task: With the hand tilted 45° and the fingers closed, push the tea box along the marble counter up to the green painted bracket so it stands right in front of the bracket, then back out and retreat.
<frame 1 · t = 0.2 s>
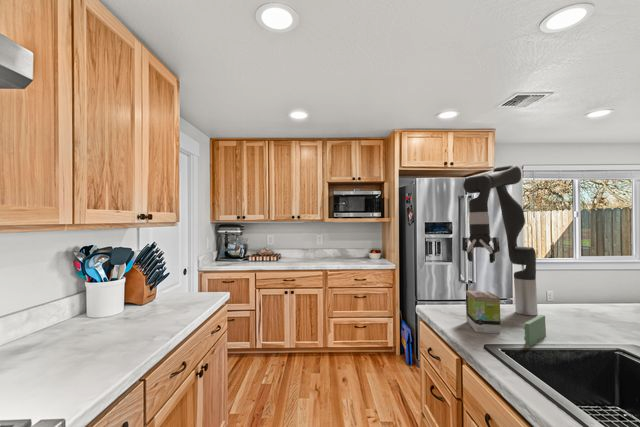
hand: (480, 262, 128), 29 cm above the counter, tool pointing down, fingers open, 8 cm apart
bracket: (536, 340, 117), on the counter
tea box: (482, 328, 133), on the counter
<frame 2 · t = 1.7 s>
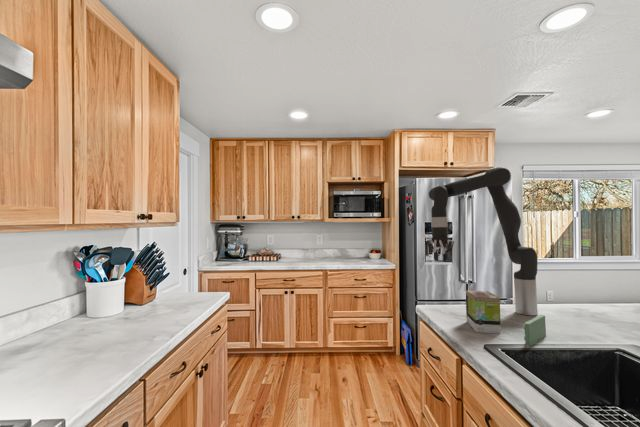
hand: (440, 260, 152), 27 cm above the counter, tool pointing down, fingers open, 4 cm apart
nothing on the counter moved.
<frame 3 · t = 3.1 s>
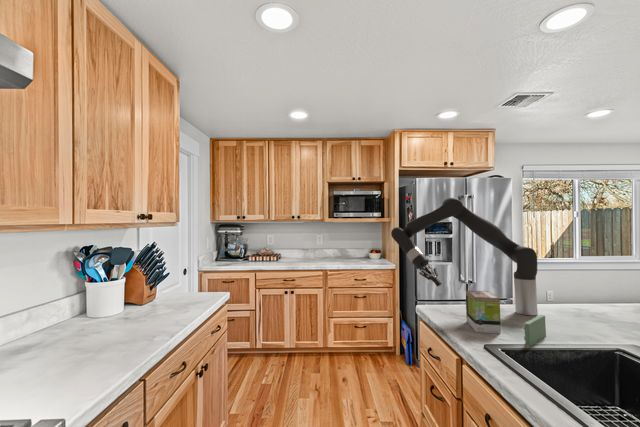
hand: (439, 285, 149), 16 cm above the counter, tool tilted 45°, fingers closed
nothing on the counter moved.
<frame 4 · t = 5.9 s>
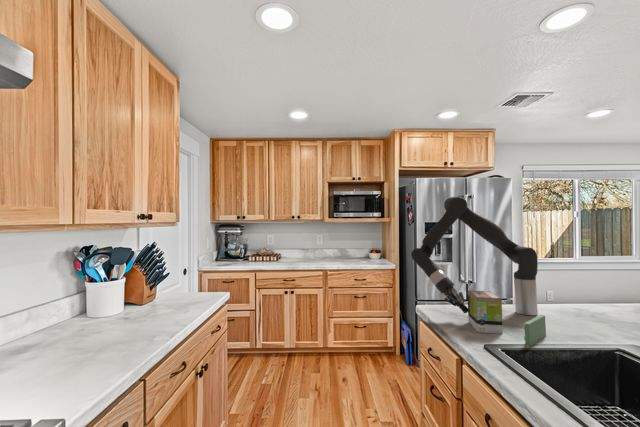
hand: (467, 312, 139), 5 cm above the counter, tool tilted 45°, fingers closed
nothing on the counter moved.
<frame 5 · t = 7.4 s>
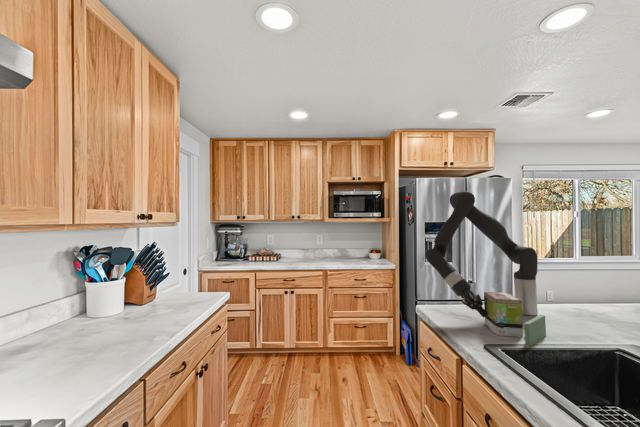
hand: (485, 315, 132), 5 cm above the counter, tool tilted 45°, fingers closed
tea box: (503, 331, 129), on the counter, touching gripper
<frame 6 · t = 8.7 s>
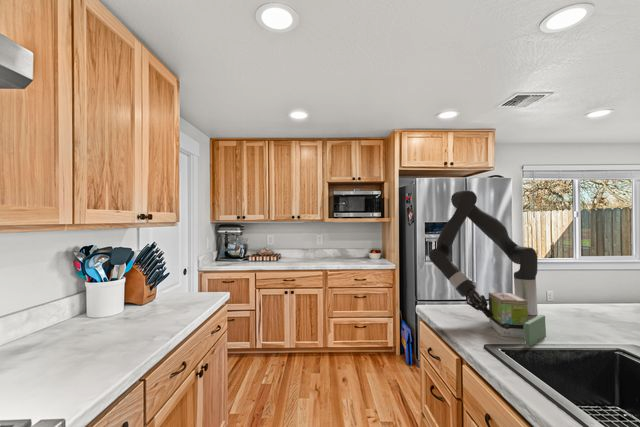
hand: (490, 316, 131), 5 cm above the counter, tool tilted 45°, fingers closed
tea box: (508, 332, 128), on the counter, touching gripper
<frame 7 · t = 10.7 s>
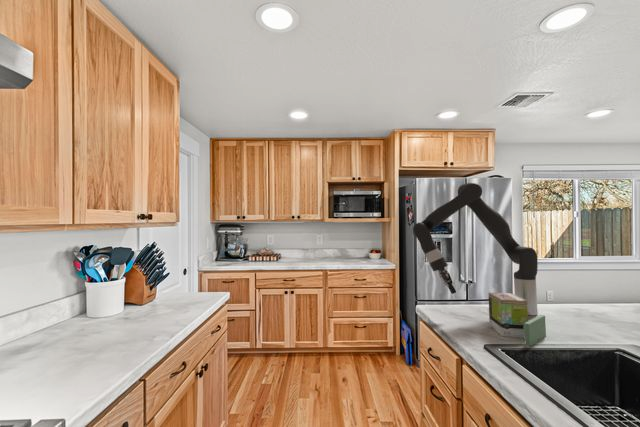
hand: (454, 293, 146), 12 cm above the counter, tool tilted 25°, fingers closed
tea box: (508, 332, 128), on the counter
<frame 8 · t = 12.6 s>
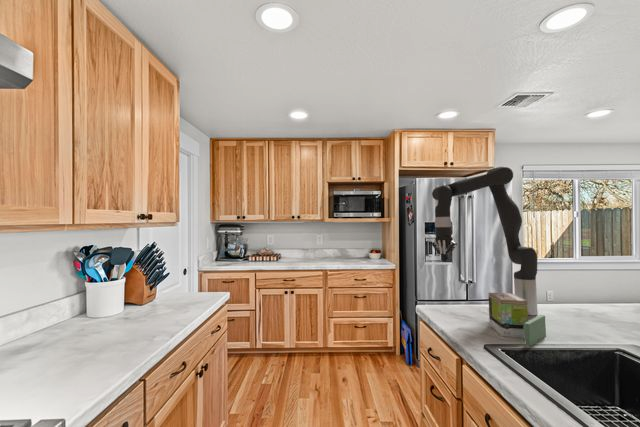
hand: (444, 261, 150), 27 cm above the counter, tool pointing down, fingers closed
nothing on the counter moved.
at the end: tea box inside the target area (5.1 cm from its centre), on the counter; tea box tilted 0° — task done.
